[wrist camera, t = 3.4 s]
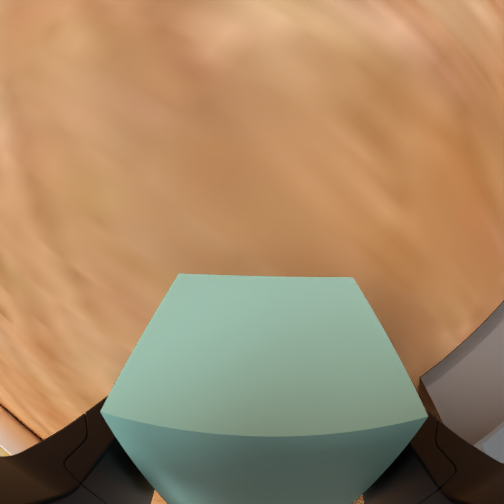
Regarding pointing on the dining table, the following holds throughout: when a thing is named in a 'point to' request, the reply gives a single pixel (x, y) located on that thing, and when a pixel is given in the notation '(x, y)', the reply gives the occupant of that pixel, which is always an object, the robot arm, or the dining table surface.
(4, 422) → the bowl
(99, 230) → the dining table surface
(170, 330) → the teal cube
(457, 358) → the tote
